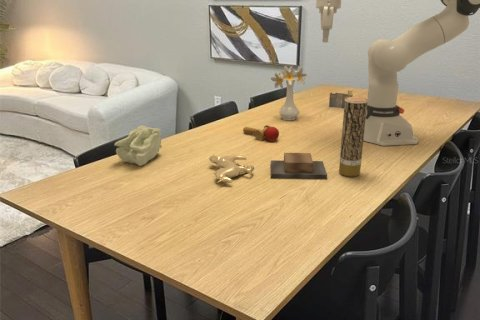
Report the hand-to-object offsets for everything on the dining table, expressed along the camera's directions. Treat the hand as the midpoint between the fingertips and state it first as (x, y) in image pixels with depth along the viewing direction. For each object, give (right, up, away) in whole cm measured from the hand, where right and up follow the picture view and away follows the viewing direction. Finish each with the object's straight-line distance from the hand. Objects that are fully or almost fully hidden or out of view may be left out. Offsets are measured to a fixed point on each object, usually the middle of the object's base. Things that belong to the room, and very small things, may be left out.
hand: (325, 42), depth 155 cm
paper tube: (+5, -49, -17) cm, 52 cm away
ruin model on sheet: (+21, -17, +65) cm, 70 cm away
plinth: (-12, -48, -15) cm, 52 cm away
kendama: (-23, -35, +19) cm, 46 cm away
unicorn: (-29, -45, -12) cm, 55 cm away
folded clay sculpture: (-67, -44, -4) cm, 80 cm away
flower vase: (-8, -25, +44) cm, 51 cm away
